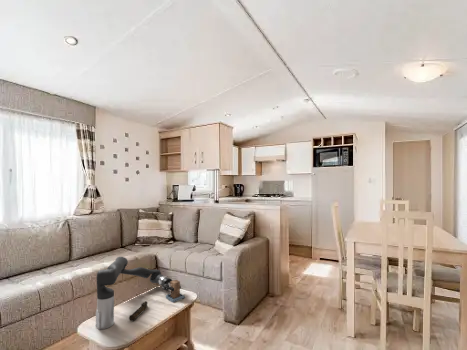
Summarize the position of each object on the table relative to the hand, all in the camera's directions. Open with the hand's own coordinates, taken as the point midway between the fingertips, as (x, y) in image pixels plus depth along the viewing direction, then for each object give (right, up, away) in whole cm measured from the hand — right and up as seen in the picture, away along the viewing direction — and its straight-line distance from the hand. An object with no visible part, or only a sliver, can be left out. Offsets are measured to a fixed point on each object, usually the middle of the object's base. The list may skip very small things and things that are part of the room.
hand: (177, 288), depth 189 cm
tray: (-2, -8, +2) cm, 8 cm away
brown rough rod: (-21, -8, -20) cm, 30 cm away
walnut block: (-2, -7, +2) cm, 7 cm away
